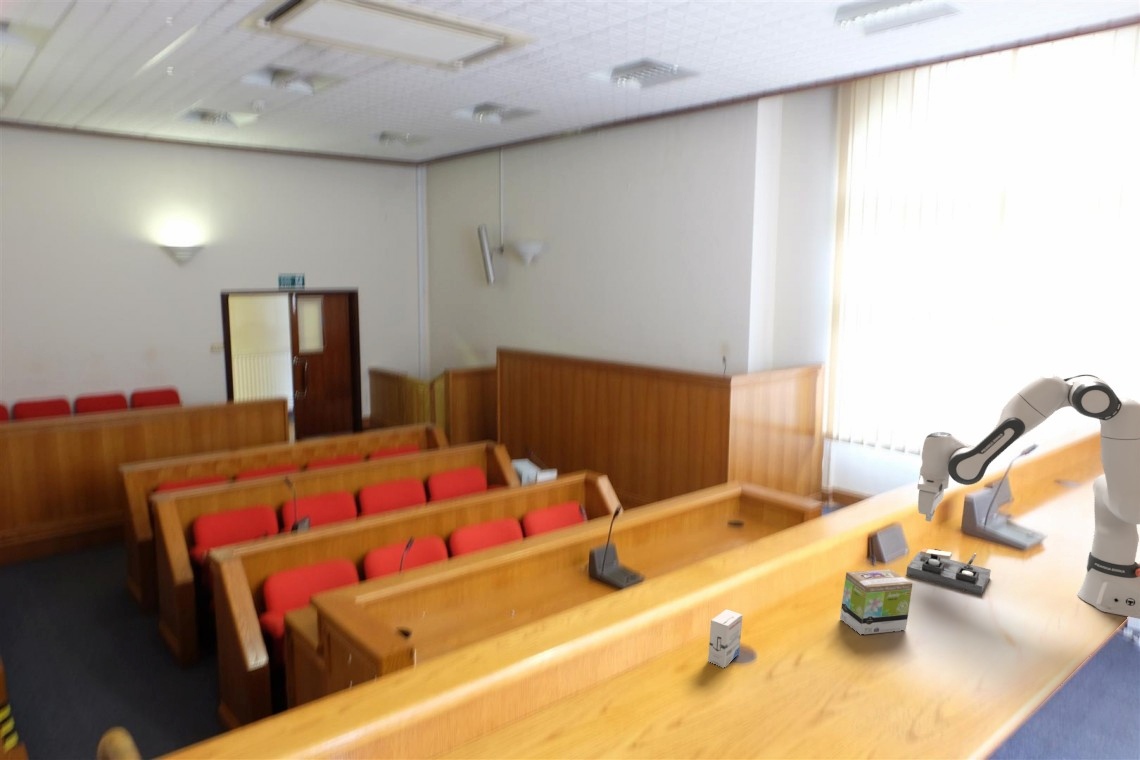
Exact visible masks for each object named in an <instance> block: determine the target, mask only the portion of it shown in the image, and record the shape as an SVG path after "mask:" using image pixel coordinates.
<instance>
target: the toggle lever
mask: <svg viewBox="0 0 1140 760" xmlns="http://www.w3.org/2000/svg"><path fill="white" fill-rule="evenodd" d="M977 556H978V555H977V553H973V554H972V556H971V558H970V559H969V561H968V562H967V563H966V564H967V566H968V567H970V566H971V565H972V564H973V562H974V561H975V559H976V558H977Z"/></svg>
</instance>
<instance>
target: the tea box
mask: <svg viewBox="0 0 1140 760" xmlns="http://www.w3.org/2000/svg"><path fill="white" fill-rule="evenodd" d="M912 591H913V582H912V581H909V580H908V579H907V578H905V577H903V576H902V575H900V574H899V573H897V572H896V571H895V570H893V569H892V568H885V569H884V568H883V569H872V570H859V571H857V570H856V571H846V573H845V578H844V586H843V593H842V599H841V600H842V601H841V607H840V608H841V609H840V614H839V615H840V616H839V619H840V620H841V621H842V622H843V621H844V622H843V623H844V624H846V625H847V624H848V625H849V626H850V627H849V626H848V625H847V626H848V627H849V628H851V629H852V628H853V629H854V630H855V631H854V630H853V629H852V630H853V631H854V632H856V631H857V632H858V633H859V634H860V635H859V634H858V633H857V632H856V633H857V634H858V635H859V636H862V635H861V634H864V635H871V634H881V633H892V632H893V631H895V632H902V631H901V630H905V631H906V630H907V624H908V617H909V612H910V611H909V610H910V604H911V597H912Z"/></svg>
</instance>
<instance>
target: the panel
mask: <svg viewBox="0 0 1140 760" xmlns="http://www.w3.org/2000/svg"><path fill="white" fill-rule="evenodd" d="M933 550H937V551H942V549H938V548H937V549H936V548H935V549H933ZM929 559H936V560H937V559H938V555H935V554H931V557H928V556H921V555H920V551H918V552H917V553H916V555H915V556H914V557H913V559H912V560H911V561H910V562H909V564H908V565H907V566H906V576H908V577H913V578H916V579H919V580H923V581H926V582H930V583H934V584H937V585H940V586H945V587H948V588H952V589H956V590H959V591H963V592H966V593H971V594H974V595H977V596H982V594H983V593H984V590H985V589H986V586H987V584H988V582H989V580H990V578H991V572H992V571H991V569H989V568H986V567H982V566H981V567H980V566H977V565H973V564H971V566H970V567H968V566H967V563H966V562H965V563H964V562H963V561H962V562H961V561H958V560H953V559H951V558H950V559H942V558H939V559H938V561H939V566H932V565H929V564H928V561H929ZM962 571H970V572H972V573H973V576H970V575H966V574H962Z"/></svg>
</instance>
